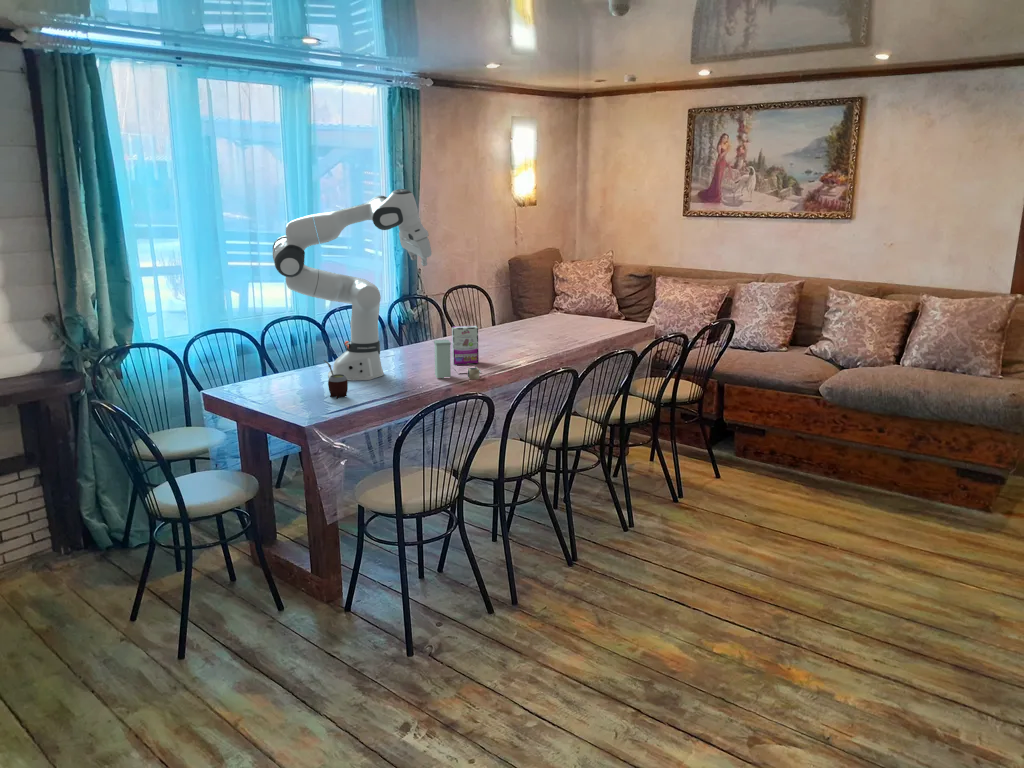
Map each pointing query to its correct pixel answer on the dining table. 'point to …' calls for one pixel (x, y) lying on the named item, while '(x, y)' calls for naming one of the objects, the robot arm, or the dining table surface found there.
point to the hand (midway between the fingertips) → (419, 262)
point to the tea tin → (442, 358)
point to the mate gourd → (337, 384)
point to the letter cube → (473, 373)
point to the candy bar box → (465, 344)
